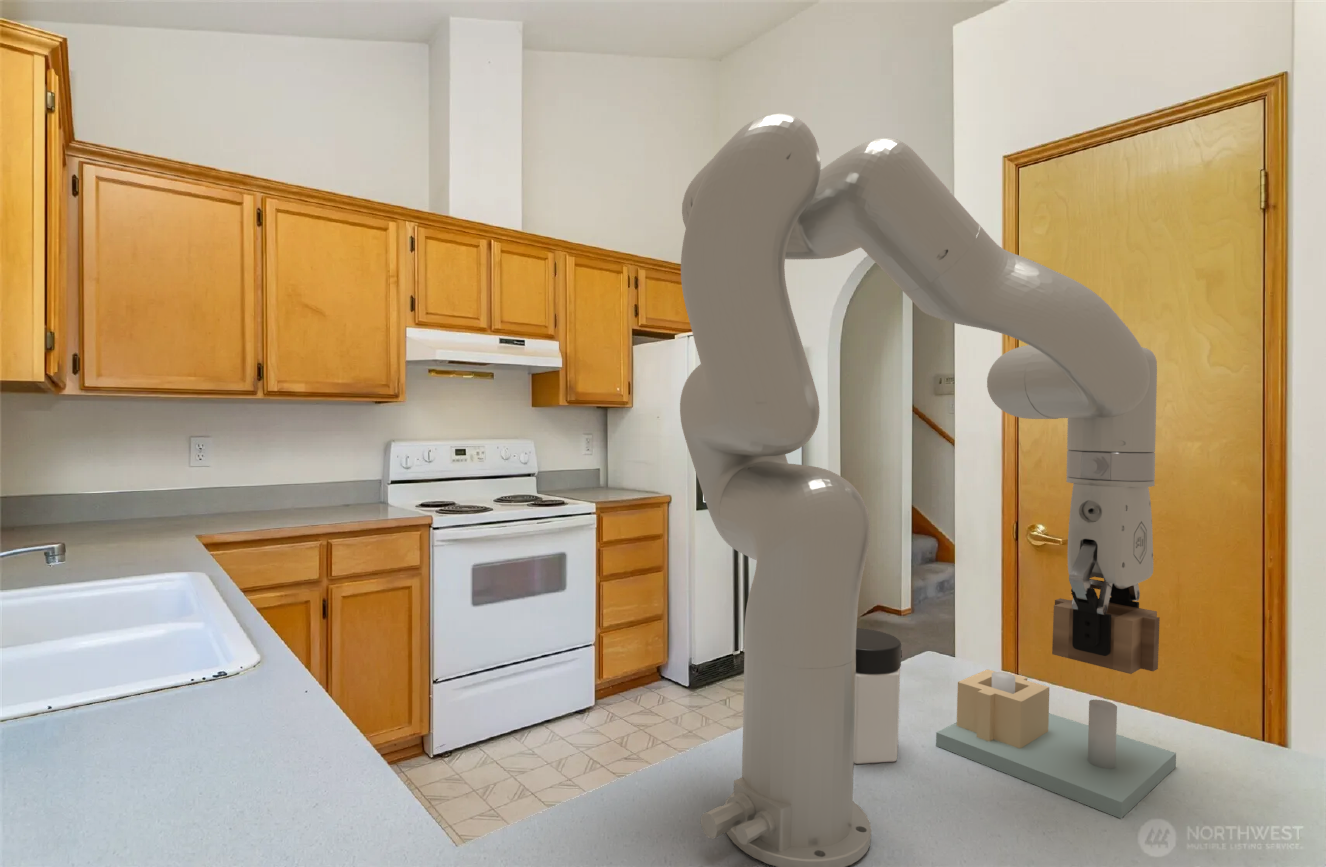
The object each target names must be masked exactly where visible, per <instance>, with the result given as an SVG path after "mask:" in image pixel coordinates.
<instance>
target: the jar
mask: <svg viewBox="0 0 1326 867" xmlns="http://www.w3.org/2000/svg"><path fill="white" fill-rule="evenodd" d="M902 651H903V650H902V641H901V640H900V639H898V638H897V637H896V636H894V635H892V634H890V633H887V632H883V631H878V630H874V629H869V628H862V627H861V628H858V627H857V629H856V683H855V725H854V764H856V765H861V764H877V763H878V764H879V763H891V762H896V761H897V760H898V751H899V735H900V734H899V732H900V731H899V730H900V729H899V727H900V725H899V724H900V720H899V719H900V694H901V693H900V690H901V688H900V686H901V685H900V684H901V667H902V658H903V654H902V653H903V652H902Z"/></svg>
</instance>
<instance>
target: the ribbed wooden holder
mask: <svg viewBox="0 0 1326 867" xmlns="http://www.w3.org/2000/svg"><path fill="white" fill-rule="evenodd" d="M1072 600H1073V599H1071V600H1070V599H1064V598H1061V597H1060V598H1058V599H1054V604H1053V619H1052V647H1051V651H1052V653H1051V654H1052V655H1053V656H1058V657H1061V658H1065V659H1070V660H1073V661H1077V662H1082V663H1085V664H1089V665H1094V666H1098V667H1101V668H1105V669H1110V670H1112V671H1117V672H1120V673H1124V674H1130V675H1132V674H1133V673H1136V672H1137V671H1139V670H1146V671H1149V672H1155V671H1157V670H1159V650H1160V649H1159V646H1160V645H1159V644H1160V617H1158V611H1156V610H1151V609H1146V608H1143V607H1142V608H1141V607H1139V608H1136V607H1130V606H1125V605H1119V604H1114V603H1109V604H1108V609H1107V613H1106V614H1110V615H1111V652H1110V654H1109V655H1107V656H1102V655H1098V654H1094V653H1089V652H1085V651H1081V650H1077V649H1075V648H1074V647H1073V645H1072V638H1073V608H1072Z"/></svg>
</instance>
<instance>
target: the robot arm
mask: <svg viewBox="0 0 1326 867" xmlns="http://www.w3.org/2000/svg"><path fill="white" fill-rule="evenodd" d="M819 149H820V148H819V146H818V143H817V140H816V137H815V136H814V134H813V132H812V131H811V129H810V127H809V126H808V125H807V124H806V123H805V122H804V121H803V120H801V119H800V118H798V117H796V116H794V115H791V114H788V113H771V114H766V115H764V116H761V117H759V118H756V119H753V120H751V121H750V122H748V123H746V125H744V126H742V127H741V128H740V129H739V130H738V131H737V132H736V133H735V134H734V135H733V136H732V137H731V138H730V139H729V140H728V141H727V142H726V143H725V144H724V145H723V146H722V147H721V148H720V150H718V152H717V153H716V154H715V155H714V156H713V157H712V159H711V160H709V161H708V163H706V164H705V166H704V167H703V168H702V169H701V170H699V171H698V173H697V174H696V175H695V176H694V178H693V179H692V180H691V181H690V183H689V184H688V186H687V188H686V191H685V192H684V195H683V199H682V203H681V204H682V207H681V215H682V216H681V217H682V221H683V224H684V228H685V230H684V231H685V232H684V236H683V241H682V247H681V257H680V281H681V288H682V295H683V296H682V297H683V300H684V304H685V305H684V306H685V310H686V313H687V314H686V315H687V316H688V317H687V318H688V321H689V326H690V328H691V333H692V335H693V341H694V344H695V347H696V352H697V355H698V359H699V361H700V362H699V363H700V364H699V365H697V367H695V368H694V370H692V371H691V373H690V374H689V375H688V377H687V379H686V381H685V382H684V385H683V387H682V390H681V395H680V400H679V416H680V423H681V429H682V432H683V436H684V439H685V443H686V446H687V449H688V452H689V456H690V458H691V462H692V464H693V467H694V471H695V473H696V474H695V475H696V478H697V479H698V483H699V486H700V490H701V492H702V495H703V497H704V501H705V504H706V507H707V509H708V512H709V516H710V518H711V521H712V522H713V525H714V526H715V529H716V530H717V532H718V534H719V535H720V537H721V538H722V540H723V541H724V542H725V543H726V544H727V545H729V547H730V548H732V549H733V550H735V551H737V552H738V553H740V554H742V555H744V556H746V557H748V558H750V559H753V560H755V561H756V565H755V570H754V576H753V580H752V583H751V586H750V590H749V594H748V597H747V603H746V609H745V618H744V619H745V620H744V633H743V634H744V638H743V641H744V642H743V648H744V657H743V658H744V660H743V661H744V662H743V664H744V666H743V703H742V706H743V712H742V751H741V752H742V755H741V756H742V758H741V759H742V760H741V763H742V764H741V777H739V778H737V779H735V780H734V781H733V792H732V793H731V794H730V795H729V796H728V798H727V799H726V800H725V803H724V805H720V806H717V807H715V808H712V809H710V810H709V811H707V812H704V813H702V815H701V816H700V825H701V829H702V832H704V835H705V836H706V837H707V838H708V839H710V840H711V839H712V840H713V839H715V838H717V837H719V836H722V835H725V833H726V835H727V836H728V838H729V839H730V840H731V841H732V843H733V844H735V845H736V847H737V848H739V849H740V850H741V851H742V852H743V853H744V854H747V855H749V856H750V857H752V858H754V859H756V860H757V861H760V862H762V863H765V864H767V865H771V866H773V867H848V866H852V865H854V863H856V862H857V861H859V860H861V859H862V858H863V857H864V856H865V854H866V853H867V852H868V850H869V849H870V846H871V841H872V840H871V839H872V826H871V822H870V819H869V818H868V815H867V813H866V812H865V811H864V810H863V809H862V808H861V806H860V805H859V804H857V803H856V802H855V801H854V800H853V798H854V767H855V766H854V764H855V763H854V725H855V683H856V629H857V628H858V626H857V625H858V611H859V610H858V609H859V601H860V600H859V599H860V593H861V592H860V590H861V585H862V579H863V574H864V570H865V567H866V566H865V565H866V561H867V559H868V558H867V557H868V552H869V547H870V542H871V521H870V519H871V518H870V516H869V515H870V514H869V510H868V507H867V506H866V503H865V501H864V498H863V497H862V496H861V494H860V492H859V491H858V489H856V488H855V486H854V485H853V484H852V483H851V482H849V481H848V479H845V478H844V477H842V476H841V475H839V474H837V473H836V472H833V471H831V470H828V469H826V468H822V467H818V466H812V465H807V464H805V465H804V464H796V463H789V462H788V459H787V455H788V454H790V453H793V452H795V451H797V450H799V449H800V448H803V446H805V445H806V444H808V442H809V441H810V440H811V439H812V436H813V435H814V434H815V432H816V430H817V428H818V424H819V420H820V403H819V395H818V392H817V388H816V386H815V382H814V378H813V375H812V371H811V368H810V365H809V362H808V359H807V357H806V352H805V350H804V346H803V342H802V338H801V336H800V333H799V330H798V325H797V323H796V320H795V316H794V314H793V309H792V306H791V301H790V297H789V293H788V287H787V281H786V274H785V272H786V271H785V265H786V264H785V262H786V260H821V259H822V260H824V259H832V258H833V259H834V258H837V257H841V256H844V255H846V254H848V253H851V252H853V251H856V250H858V249H860V248H861V249H862V250H863V251H864V252H865V253H866V255H868V256H869V258H871V259H872V260H873V261H874V262H875V263H876V265H878V267H880V268H881V270H882V271H883V272H884V273H885V274H887V276H888V277H889V278H890V280H892V281H893V282H894V283H895V284H896V286H897V287H898V288H900V290H901V291H902V292H903V293H904V294H905V295H906V296H907V297H908V298H909V299H910V300H911V301H912V302H913V304H914V305H915V306H916V308H918V309H919V310H920V311H921V312H922V313H924V314H925V315H929V316H930V317H933V318H936V319H939V320H942V321H947V322H949V323H953V324H957V325H960V326H961V325H963V326H966V327H972V328H976V329H981V330H987V331H990V332H991V331H992V332H995V333H999V334H1002V335H1006V336H1009V337H1010V338H1013V339H1015V340H1018V341H1021V342H1022V343H1024V344H1027V345H1023V346H1018V347H1015V348H1012V349H1009V351H1007V352H1005V353H1003V354H1002V355H1000V356H998V358H997V359H996V360H995V361H994V362H993V364H992V365H991V367H990V369H989V371H988V374H987V378H986V388H987V392H988V394H989V397H990V399H991V400H992V402H993V404H995V406H996V407H998V409H1000V410H1001V411H1002V412H1005V413H1006V414H1008V415H1010V416H1013V417H1016V418H1021V419H1025V420H1026V419H1028V420H1058V419H1059V420H1060V419H1067V433H1066V434H1067V437H1066V438H1067V439H1066V440H1067V443H1066V444H1067V445H1066V450H1067V451H1066V483H1070V484H1073V485H1072V491H1071V501H1070V511H1069V518H1068V520H1069V521H1068V532H1067V533H1068V535H1067V572H1068V581H1069V584H1070V587H1071V589H1070V592H1071V595H1072V599H1071V600H1072V608H1073V638H1072V645H1073V647H1074V648H1075V649H1077V650H1081V651H1085V652H1089V653H1094V654H1098V655H1102V656H1107V655H1109V654H1110V652H1111V615H1110V614H1106V613H1107V609H1108V604H1109V603H1114V604H1119V605H1125V606H1130V607H1136V608H1140V602H1139V600H1140V596H1141V595H1140V594H1141V592H1140V586H1139V583H1142V582H1145V581H1147V580H1148V579H1150V578H1151V577H1152V575H1153V573H1154V544H1153V543H1154V541H1153V539H1154V538H1153V534H1154V533H1153V515H1152V505H1151V504H1152V503H1151V502H1152V501H1151V494H1150V489H1149V488H1150V487H1155V482H1156V481H1155V480H1156V432H1157V430H1156V429H1157V428H1156V426H1157V424H1156V423H1157V393H1158V392H1157V390H1158V389H1157V386H1158V384H1157V383H1158V376H1157V375H1158V363H1157V362H1158V361H1157V358H1156V354H1154V352H1153V351H1152V350H1151V349H1149V348H1148V347H1147V348H1146V347H1143V346H1142V345H1141V344H1140V342H1139V341H1138V340H1137V338H1136V336H1135V335H1134V333H1133V332H1132V331H1131V330H1130V328H1129V327H1128V325H1126V324H1125V323H1124V321H1123V320H1122V319H1121V317H1120V316H1119V315H1118V314H1117V313H1116V311H1115V310H1114V309H1112V307H1111V306H1110V304H1108V303H1107V302H1106V301H1105V300H1104V299H1103V298H1102V297H1101V296H1099V295H1098V294H1097V293H1095V292H1094V291H1093V290H1092V289H1090V288H1089V287H1087V286H1085V285H1084V284H1083V283H1081V282H1079V281H1077V280H1075V279H1074V278H1071V277H1069V276H1067V275H1064V274H1063V273H1061V272H1058V271H1056V270H1053V269H1052V268H1049V267H1047V266H1045V265H1044V264H1041V263H1039V262H1036V261H1034V260H1032V259H1029V258H1027V257H1025V256H1022V255H1019V254H1016V253H1013V252H1010V251H1009V250H1006V249H1004V248H1003V247H1001V246H1000V245H999V244H998V243H996V241H994V239H993V238H992V237H991V236H990V235H989V234H988V233H987V231H985V229H984V228H983V227H982V226H981V225H980V224H979V223H978V221H976V219H975V218H974V217H973V216H972V215H971V214H970V213H969V211H967V210H966V208H965V207H964V206H963V205H962V204H961V203H960V202H959V200H958V199H957V198H956V197H955V196H954V195H953V193H951V191H950V189H948V187H947V186H946V185H945V184H944V182H942V181H941V180H940V178H939V177H938V176H937V175H936V174H935V173H934V172H933V170H932V169H931V168H930V167H929V165H928V164H926V163H925V162H924V160H923V159H922V158H921V157H920V156H919V154H917V152H916V151H915V150H914V149H912V148H911V147H910V146H909V145H908V144H906V143H904V142H903V141H901V140H898V139H895V138H891V137H878V138H874V139H871V140H868V141H865V142H863V143H861V144H859V145H857V146H854V147H853V148H852V149H850V150H848V151H847V152H845V153H843V154H842V155H841V156H839V157H837V158H836V159H834V160H833V161H831V162H829V164H826V166H824V167H823V168H821V165H822V164H821V155H820V150H819ZM1092 578H1100V579H1103V580H1099V579H1092ZM1096 590H1100V591H1099V595H1097V592H1096Z"/></svg>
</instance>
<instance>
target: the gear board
mask: <svg viewBox="0 0 1326 867" xmlns="http://www.w3.org/2000/svg"><path fill="white" fill-rule="evenodd" d="M956 697H957V698H956V722H953V723H951V724H950V725H949V726H946V727H944V728H942V729H940V730H938V731H936V732H935V733H936V734H935V735H936V736H935V738H936V739H935V741H936V742H935V746H936V747H938V748H941V749H943V750H946V751H949V752H951V753H954V754H956V755H959V756H961V757H963V758H966V759H969V760H972V761H974V762H976V763H979V764H982V765H984V766H987V767H989V768H992V769H994V770H997V771H999V772H1001V773H1004V774H1006V775H1009V776H1012V777H1014V778H1017V779H1020V780H1023V781H1024V782H1026V783H1029V784H1032V785H1034V786H1037V787H1040V788H1041V789H1045V790H1047V791H1049V792H1052V793H1055V794H1057V795H1060V796H1062V797H1065V798H1068V799H1070V800H1073V801H1075V802H1078V803H1081V804H1082V805H1086V806H1088V807H1091V808H1092V809H1095V810H1099V811H1100V812H1103V813H1106V814H1108V815H1111V816H1113V817H1115V818H1118V819H1121V820H1122V819H1123V818H1124V817H1125V816H1126V815H1127V814H1128V813H1129V812H1130V811H1131V810H1133V808H1134V807H1135V806H1136V805H1137V804H1139V802H1141V801H1142V800H1143V799H1144V798H1145V797H1146V796H1147V795H1149V793H1150V792H1151V791H1152V790H1153V789H1154V788H1155V787H1156V786H1157V785H1158V784H1159V783H1161V782H1162V781H1163V780H1164V779H1165V778H1166V777H1167V776H1168V775H1169V774H1170V773H1171V772H1172V771H1173V770H1174V769H1175V768H1176V766H1177V765H1176V764H1177V752H1174V751H1171V750H1169V749H1166V748H1161V747H1158V746H1155V745H1153V744H1150V743H1149V744H1148V743H1146V742H1142V741H1140V740H1136V739H1133V738H1130V737H1127V736H1123V735H1120V734H1118V733H1117V727H1118V726H1117V724H1118V723H1117V722H1118V721H1117V720H1118V719H1117V718H1118V706H1117V705H1116V704H1114V703H1113V702H1111V701H1110V702H1109V701H1108V700H1103V699H1090V700H1088V704H1089V705H1088V724H1085V723H1081V722H1079V721H1076V720H1072V719H1069V718H1065V717H1063V716H1060V715H1057V714H1054V713H1050V712H1049V711H1050V686H1047V685H1043V684H1040V683H1037V682H1033V681H1030V680H1028V677H1026V676H1022V675H1019V674H1011V673H1008V672H1004V671H1003V672H1002V671H995V670H991V669H985V670H983V671H980V672H977V673H975V674H973V675H971V676H968V677H966V678H964V679H961V680H959V681H957V696H956Z"/></svg>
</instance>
